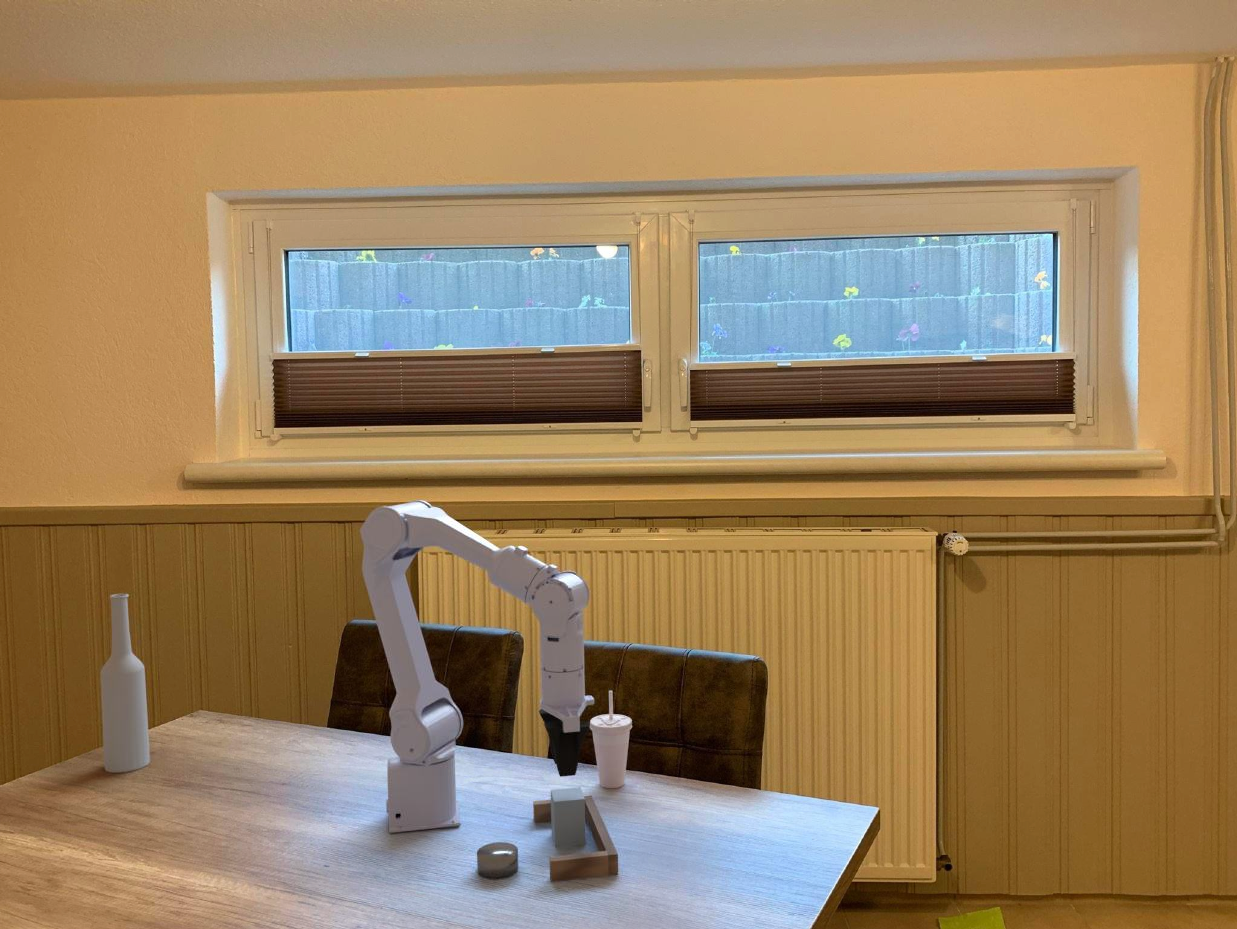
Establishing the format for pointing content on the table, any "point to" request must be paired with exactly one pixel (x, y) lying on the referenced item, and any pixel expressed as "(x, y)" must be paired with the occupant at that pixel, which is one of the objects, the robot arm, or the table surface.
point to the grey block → (568, 817)
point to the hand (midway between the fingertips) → (564, 768)
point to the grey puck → (497, 860)
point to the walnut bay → (585, 862)
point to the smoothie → (611, 746)
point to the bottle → (123, 699)
